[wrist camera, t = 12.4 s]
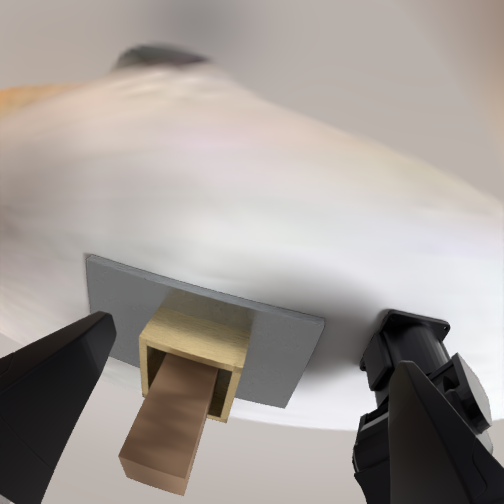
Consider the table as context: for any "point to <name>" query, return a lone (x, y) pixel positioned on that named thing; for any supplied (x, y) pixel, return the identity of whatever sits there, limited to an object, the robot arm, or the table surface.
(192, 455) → the brown square block
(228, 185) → the table surface
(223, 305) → the base plate
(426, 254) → the table surface
